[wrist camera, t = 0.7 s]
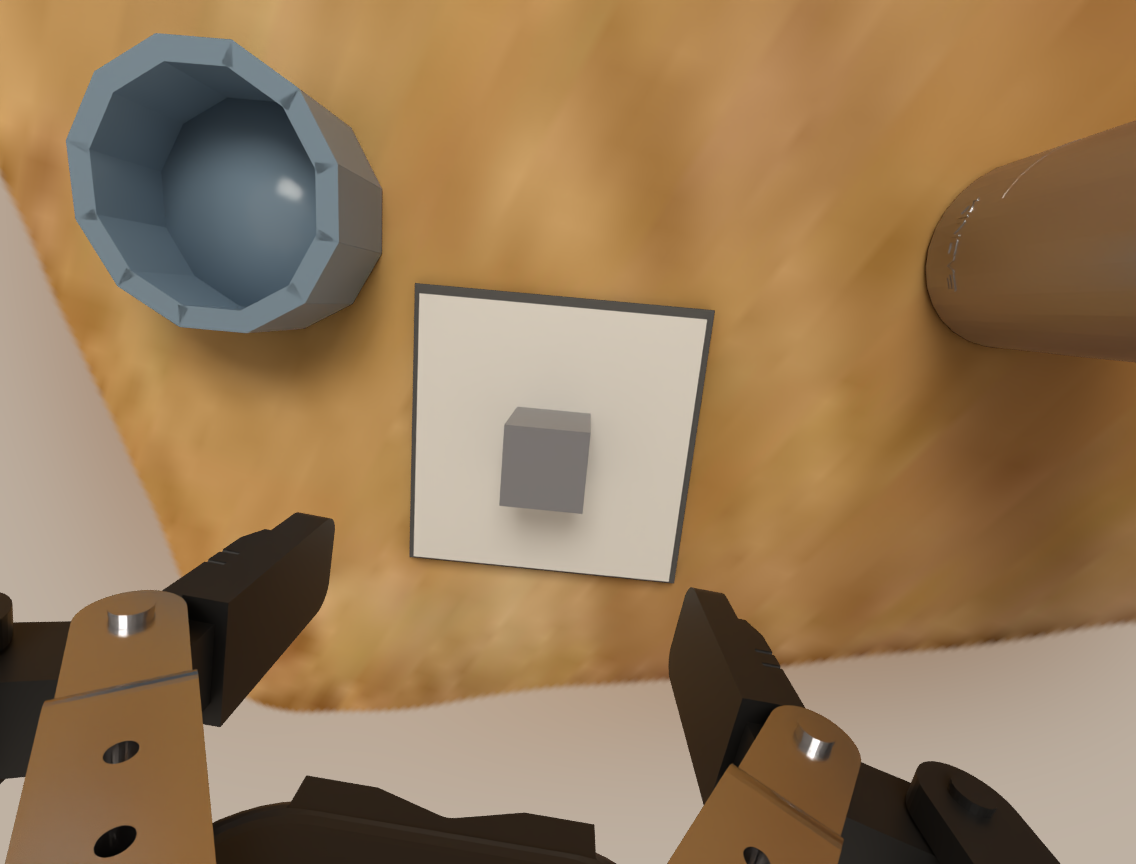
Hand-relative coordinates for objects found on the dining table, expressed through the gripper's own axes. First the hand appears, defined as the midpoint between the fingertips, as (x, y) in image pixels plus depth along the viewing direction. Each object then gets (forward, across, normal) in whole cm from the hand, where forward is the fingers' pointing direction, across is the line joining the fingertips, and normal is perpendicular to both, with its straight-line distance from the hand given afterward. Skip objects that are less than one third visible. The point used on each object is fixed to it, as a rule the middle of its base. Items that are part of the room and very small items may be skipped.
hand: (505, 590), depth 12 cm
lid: (+18, -1, +1) cm, 18 cm away
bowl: (+19, +16, -8) cm, 27 cm away
